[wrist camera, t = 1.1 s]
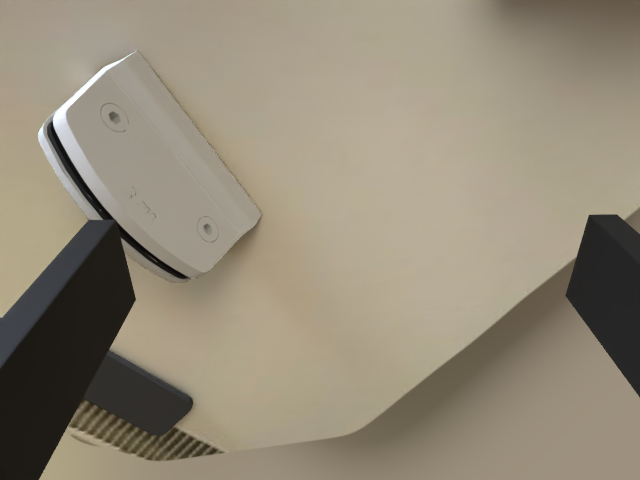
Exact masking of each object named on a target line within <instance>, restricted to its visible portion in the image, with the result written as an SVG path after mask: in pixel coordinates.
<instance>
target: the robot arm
mask: <svg viewBox="0 0 640 480" xmlns="http://www.w3.org/2000/svg"><path fill="white" fill-rule="evenodd" d="M566 297H567V298H568V300H569V301H570V302H571V304H572V305H573V307H574V308H575V309H576V311H577V312H578V313H579V315H580V316H581V317H582V319H583V320H584V322H585V323H586V324H587V326H588V327H589V328H590V330H591V331H592V332H593V334H594V335H595V337H596V338H597V339H598V341H599V342H600V343H601V345H602V346H603V347H604V349H605V350H606V352H607V353H608V354H609V356H610V357H611V358H612V360H613V361H614V362H615V364H616V365H617V367H618V368H619V369H620V371H621V372H622V374H623V375H624V376H625V377H626V379H627V380H628V382H629V383H630V384H631V386H632V387H633V389H634V390H635V391H636V393H637V394H638V395H639V397H640V234H639V233H638V232H636V231H635V230H634V229H633V228H632V227H631V226H629V225H628V224H627V223H626V222H625V221H624V220H623V219H621V218H620V217H619V216H618V215H589V217H588V220H587V224H586V227H585V231H584V234H583V237H582V241H581V244H580V248H579V251H578V255H577V258H576V261H575V265H574V269H573V272H572V275H571V279H570V282H569V285H568V289H567V292H566ZM135 300H136V298H135V294H134V290H133V286H132V282H131V278H130V273H129V269H128V265H127V261H126V257H125V253H124V249H123V245H122V241H121V237H120V232H119V228H118V224H117V220H88V222H87V223H86V224H85V225H84V226H83V227H82V228H81V229H80V231H79V232H78V233H77V234H76V235H75V236H74V237H73V238H72V240H71V241H70V242H69V243H68V244H67V245H66V246H65V248H64V249H63V250H62V251H61V252H60V253H59V254H58V255H57V257H56V258H55V259H54V260H53V261H52V262H51V263H50V264H49V266H48V267H47V268H46V269H45V270H44V271H43V272H42V274H41V275H40V276H39V277H38V278H37V279H36V280H35V281H34V283H33V284H32V285H31V286H30V287H29V288H28V289H27V290H26V292H25V293H24V294H23V295H22V296H21V297H20V298H19V299H18V301H17V302H16V303H15V304H14V305H13V306H12V307H11V309H10V310H9V311H8V312H7V313H6V314H5V315H4V316H3V318H0V480H39V478H40V476H41V474H42V473H43V470H44V469H45V467H46V465H47V463H48V462H49V460H50V458H51V456H52V454H53V452H54V450H55V449H56V447H57V445H58V443H59V441H60V439H61V437H62V436H63V433H64V432H65V430H66V428H67V426H68V425H69V423H70V421H71V419H72V417H73V415H74V413H75V412H76V410H77V408H78V406H79V404H80V402H81V400H82V399H83V397H84V395H85V393H86V391H87V389H88V387H89V386H90V384H91V382H92V380H93V378H94V376H95V374H96V373H97V371H98V369H99V367H100V365H101V363H102V362H103V360H104V358H105V356H106V354H107V352H108V350H109V349H110V347H111V345H112V343H113V341H114V339H115V337H116V336H117V334H118V332H119V330H120V328H121V326H122V324H123V323H124V321H125V319H126V317H127V315H128V313H129V311H130V310H131V308H132V306H133V304H134V302H135Z"/></svg>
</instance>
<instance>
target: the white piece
mask: <svg viewBox="0 0 640 480" xmlns="http://www.w3.org/2000/svg"><path fill="white" fill-rule="evenodd" d="M38 140H39V143H40V145H41V147H42V149H43V151H44V153H45V155H46V157H47V159H48V161H49V162H50V164H51V166H52V168H53V169H54V171H55V173H56V175H57V176H58V178H59V179H60V181H61V182H62V184H63V185H64V187H65V188H66V190H67V191H68V193H69V194H70V195H71V197H72V198H73V199H74V201H75V202H76V204H77V205H78V206H79V207H80V209H81V210H82V211H83V212H84V213H85V215H86V216H87V217H88V218H89V219H90V220H117V224H118V228H119V232H120V237H121V241H122V245H123V249H124V253H125V254H127V255H128V256H129V257H130V258H132V259H133V260H134V261H136V262H137V263H139V264H140V265H142V266H143V267H144V268H146V269H148V270H149V271H151V272H153V273H154V274H156V275H158V276H160V277H162V278H164V279H165V280H167V281H169V282H187V281H189V280H190V279H191V278H199V277H201V276H202V275H204V274H205V273H207V272H208V271H210V270H211V269H212V268H213V267H214V266H215V264H216V263H217V262H218V261H219V260H220V259H221V258H222V257H223V256H224V255H225V254H226V253H227V252H228V251H229V249H230V248H231V247H232V246H233V245H234V244H235V243H236V242H237V241H238V240H239V239H240V238H241V237H242V236H243V235H244V234H245V233H246V232H248V231H249V230H250V229H251V228H252V227H254V226H255V225H256V223H257V221H258V220H259V218H260V217H261V215H262V213H261V212H260V211H259V209H258V208H257V207H256V205H255V204H254V203H253V202H252V200H251V199H250V198H249V196H248V195H247V194H246V192H245V191H244V190H243V188H242V187H241V186H240V184H239V183H238V182H237V180H236V179H235V178H234V177H233V175H232V174H231V173H230V171H229V170H228V169H227V167H226V166H225V165H224V163H223V162H222V161H221V159H220V158H219V157H218V155H217V154H216V153H215V152H214V150H213V149H212V148H211V146H210V145H209V144H208V142H207V141H206V140H205V138H204V137H203V136H202V134H201V133H200V132H199V130H198V129H197V128H196V127H195V125H194V124H193V123H192V121H191V120H190V119H189V117H188V116H187V115H186V113H185V112H184V111H183V109H182V108H181V107H180V105H179V104H178V103H177V102H176V100H175V99H174V98H173V96H172V95H171V94H170V92H169V91H168V90H167V88H166V87H165V86H164V84H163V83H162V82H161V80H160V79H159V78H158V77H157V75H156V74H155V73H154V71H153V70H152V69H151V67H150V66H149V65H148V63H147V62H146V61H145V59H144V58H143V57H142V55H141V54H140V53H139V52H138V51H135V52H133V53H131V54H130V55H128V56H126V57H125V58H123V59H121V60H119V61H117V62H115V63H112V64H110V65H107V66H105V67H103V68H102V69H101V70H100V71H99V72H98V73H97V74H96V75H94V76H93V77H92V78H90V79H89V80H88V81H87V82H86V83H85V84H84V85H83V86H82V87H81V88H80V89H79V90H78V91H77V92H76V93H74V94H73V95H72V96H71V97H70V98H69V99H68V100H67V101H66V102H65V103H64V104H63V105H62V106H61V107H59V108H58V109H57V110H56V111H55V112H54V113H53V114H52V115H51V116H50V117H49V118H48V119H47V120H46V121H45V122H44V124H43V126H42V127H41V129H40V131H39V134H38Z"/></svg>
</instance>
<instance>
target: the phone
mask: <svg viewBox="0 0 640 480" xmlns="http://www.w3.org/2000/svg"><path fill="white" fill-rule="evenodd" d="M83 399H85V400H87V401H89V402H91V403H93V404H95V405H97V406H99V407H100V408H102V409H104V410H106V411H108V412H110V413H112V414H114V415H116V416H118V417H119V418H121V419H123V420H125V421H127V422H129V423H131V424H133V425H135V426H137V427H138V428H140V429H142V430H144V431H146V432H148V433H150V434H152V435H156V436H161V435H164V434H165V433H166V432H167V431H169V430H170V429H171V428H172V427H173V426H174V425H175V424H176V423H177V422H178V421H179V420H180V419H182V418H183V417H184V416H185V415H186V414H187V413H188V412H189V411H190V410H191V408H192V404H193V401H192V399H191V398H190V397H189V396H188V395H186V394H184V393H182V392H181V391H179V390H177V389H176V388H174V387H172V386H170V385H169V384H167V383H165V382H163V381H162V380H160V379H158V378H156V377H155V376H153V375H151V374H149V373H148V372H146V371H144V370H142V369H141V368H139V367H137V366H135V365H134V364H132V363H130V362H128V361H127V360H125V359H123V358H121V357H120V356H118V355H116V354H114V353H113V352H111V351H109V350H108V352H107V354H106V356H105V358H104V360H103V362H102V363H101V365H100V367H99V369H98V371H97V373H96V374H95V376H94V378H93V380H92V382H91V384H90V386H89V387H88V389H87V391H86V393H85V395H84V397H83Z"/></svg>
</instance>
